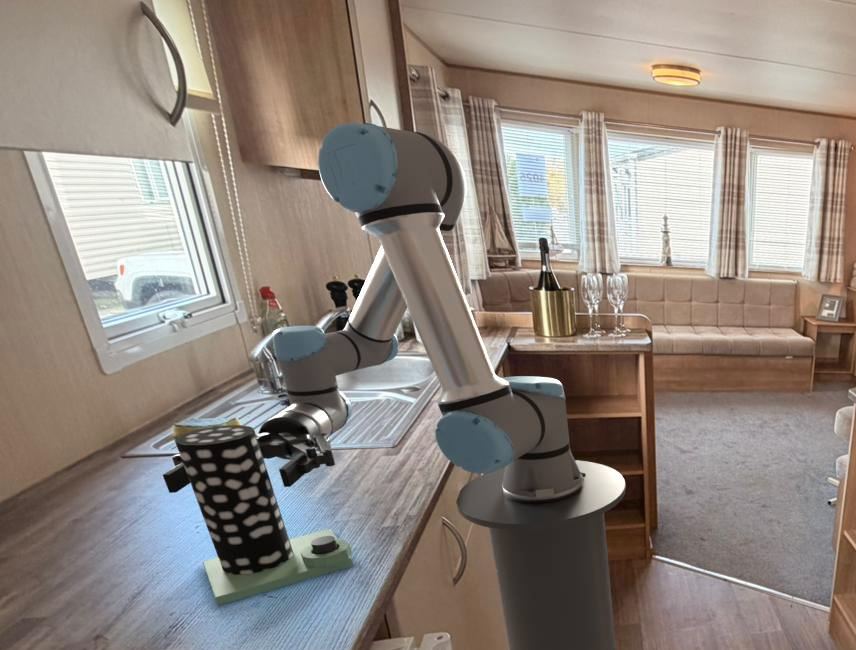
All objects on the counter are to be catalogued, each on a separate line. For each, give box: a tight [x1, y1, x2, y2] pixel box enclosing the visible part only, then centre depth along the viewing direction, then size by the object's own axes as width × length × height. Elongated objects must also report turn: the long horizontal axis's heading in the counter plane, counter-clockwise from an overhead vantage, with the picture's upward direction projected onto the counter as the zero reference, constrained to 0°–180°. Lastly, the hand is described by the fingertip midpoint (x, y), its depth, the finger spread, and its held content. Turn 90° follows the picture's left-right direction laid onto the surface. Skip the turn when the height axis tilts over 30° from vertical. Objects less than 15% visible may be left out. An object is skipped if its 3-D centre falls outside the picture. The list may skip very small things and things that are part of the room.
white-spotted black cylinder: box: [174, 424, 293, 575], centre depth 92 cm, size 8×8×20 cm
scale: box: [202, 528, 354, 607], centre depth 96 cm, size 16×13×3 cm
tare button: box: [311, 536, 338, 555], centre depth 96 cm, size 3×3×2 cm
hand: (227, 481), depth 89 cm, fingers open, 13 cm apart
